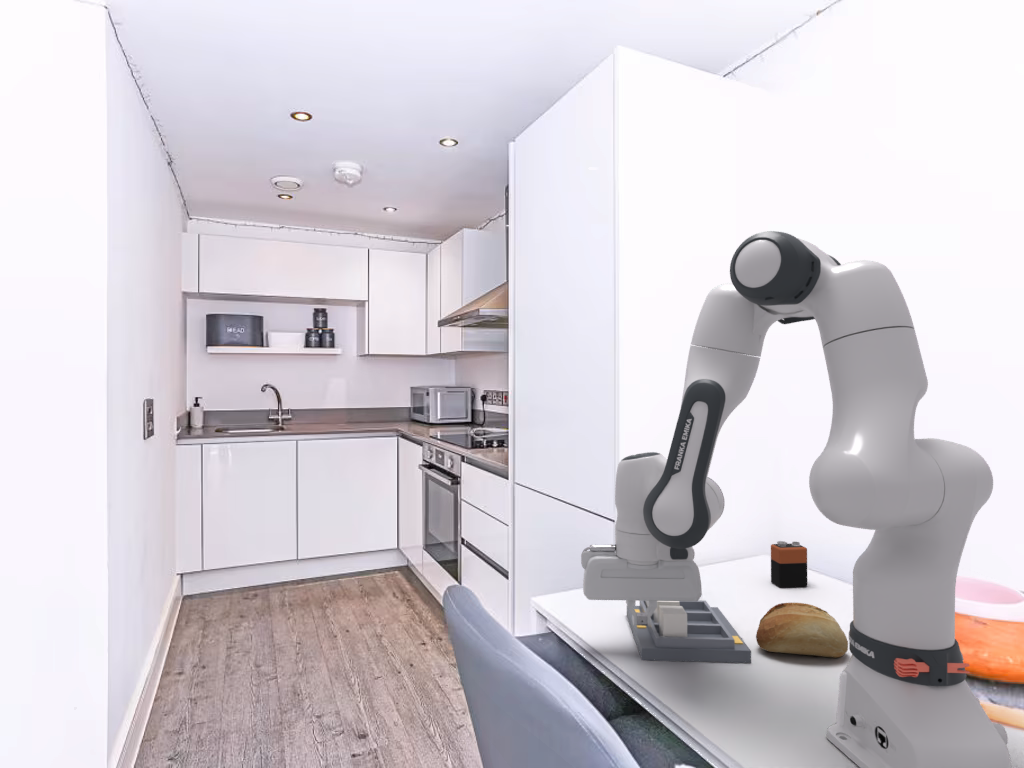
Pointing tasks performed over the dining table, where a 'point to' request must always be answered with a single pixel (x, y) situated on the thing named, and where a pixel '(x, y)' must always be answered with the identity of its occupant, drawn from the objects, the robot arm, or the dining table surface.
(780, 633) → the bread roll
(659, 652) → the switch bank
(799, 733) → the dining table surface
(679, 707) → the dining table surface
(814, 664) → the dining table surface
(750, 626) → the dining table surface
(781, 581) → the battery
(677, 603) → the tab
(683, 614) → the tab
